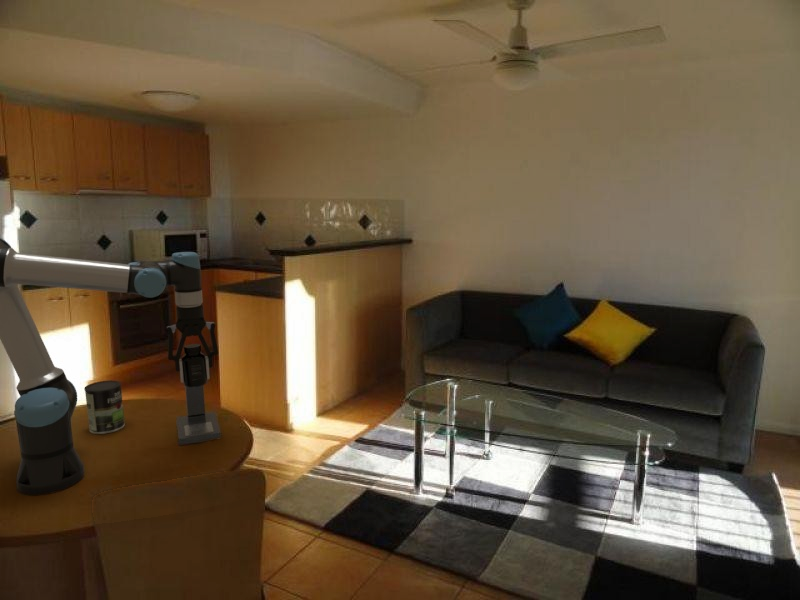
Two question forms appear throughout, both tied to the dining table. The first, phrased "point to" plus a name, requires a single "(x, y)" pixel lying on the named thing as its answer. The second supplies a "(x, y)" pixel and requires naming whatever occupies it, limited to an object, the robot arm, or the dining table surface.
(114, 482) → the dining table surface
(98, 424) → the coffee can
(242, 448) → the dining table surface
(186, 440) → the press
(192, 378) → the supplement bottle
